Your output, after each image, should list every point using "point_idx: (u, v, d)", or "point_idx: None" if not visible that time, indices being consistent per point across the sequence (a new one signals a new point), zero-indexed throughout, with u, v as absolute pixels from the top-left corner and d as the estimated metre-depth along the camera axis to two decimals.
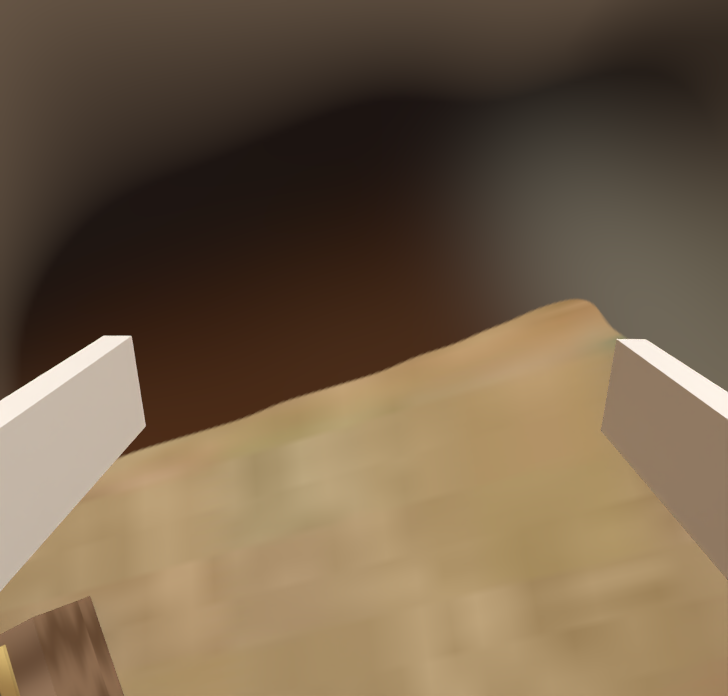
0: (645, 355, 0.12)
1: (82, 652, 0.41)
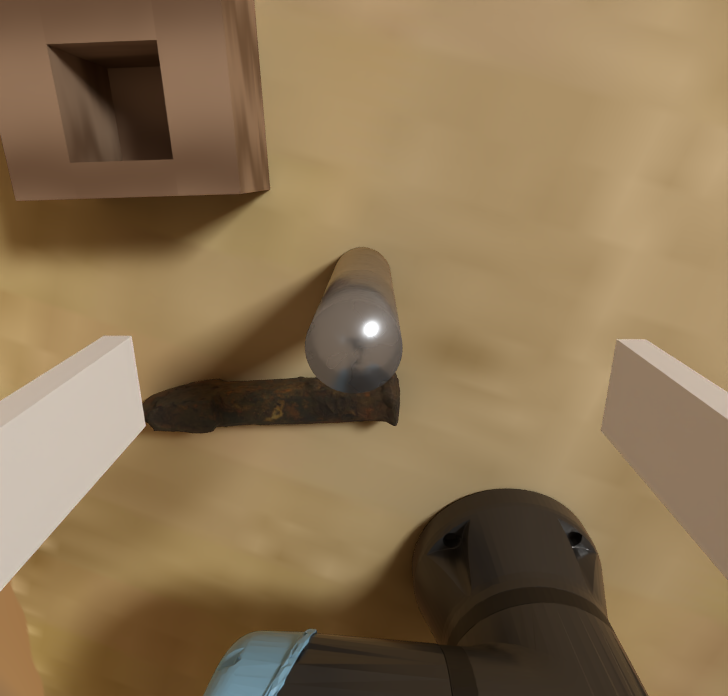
0: (645, 355, 0.12)
1: None
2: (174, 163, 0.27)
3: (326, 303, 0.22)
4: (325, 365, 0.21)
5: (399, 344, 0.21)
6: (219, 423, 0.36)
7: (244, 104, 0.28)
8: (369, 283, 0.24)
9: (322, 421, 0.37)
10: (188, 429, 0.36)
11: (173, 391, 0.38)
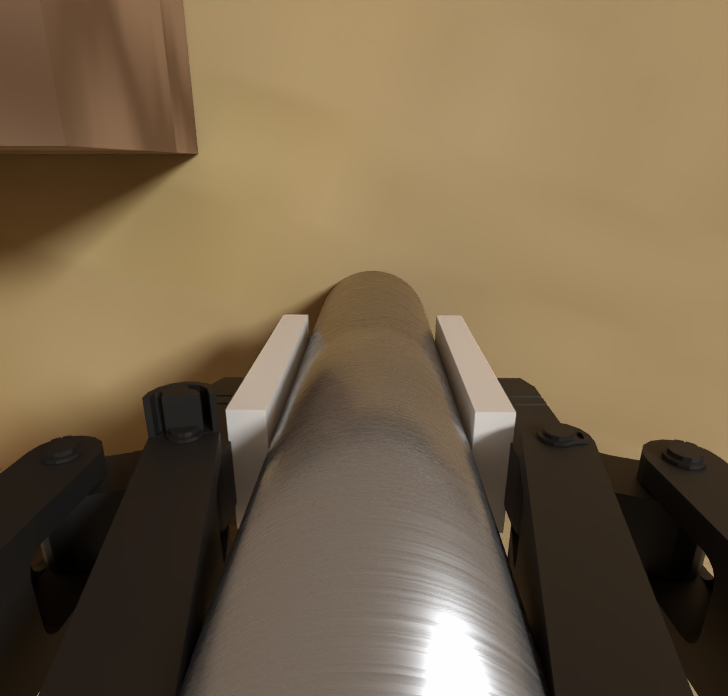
0: (446, 327, 0.14)
1: None
2: None
3: (249, 600, 0.05)
4: None
5: None
6: None
7: None
8: (414, 438, 0.08)
9: None
10: None
11: None
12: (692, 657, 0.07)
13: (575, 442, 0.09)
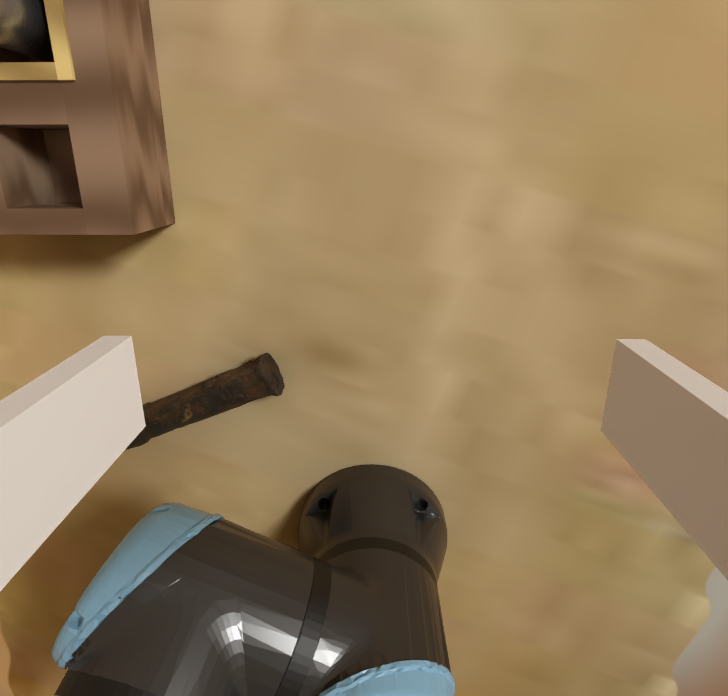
0: (645, 355, 0.12)
1: (131, 21, 0.36)
2: (84, 211, 0.36)
3: None
4: None
5: None
6: (150, 434, 0.47)
7: (141, 166, 0.38)
8: None
9: (224, 409, 0.47)
10: None
11: None
12: None
13: None
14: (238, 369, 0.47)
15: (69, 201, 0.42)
